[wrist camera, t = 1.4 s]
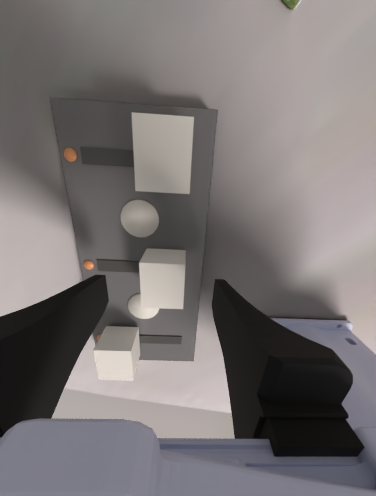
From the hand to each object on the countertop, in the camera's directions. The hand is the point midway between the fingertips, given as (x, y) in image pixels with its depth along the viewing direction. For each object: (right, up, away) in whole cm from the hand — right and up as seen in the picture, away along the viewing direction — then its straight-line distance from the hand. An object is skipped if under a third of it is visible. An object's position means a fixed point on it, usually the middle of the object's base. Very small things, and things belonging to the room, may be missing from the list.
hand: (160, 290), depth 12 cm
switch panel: (-2, +2, +4) cm, 5 cm away
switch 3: (0, +1, +3) cm, 3 cm away
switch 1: (-4, -6, +5) cm, 9 cm away
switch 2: (0, +8, 0) cm, 9 cm away
